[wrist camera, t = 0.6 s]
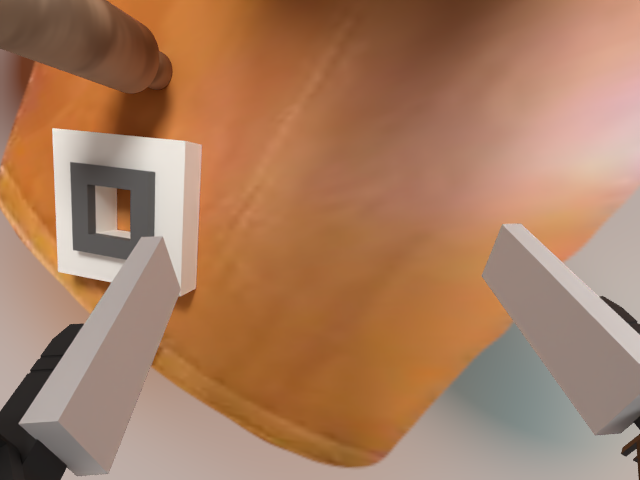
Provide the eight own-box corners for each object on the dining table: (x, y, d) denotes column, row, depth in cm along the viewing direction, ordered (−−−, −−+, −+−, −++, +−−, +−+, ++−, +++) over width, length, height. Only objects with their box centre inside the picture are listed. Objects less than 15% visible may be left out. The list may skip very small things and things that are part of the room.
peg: (130, 36, 36) (-62, -74, 21) (184, 38, 35) (22, -79, 19) (130, 101, 37) (-51, 41, 22) (182, 104, 36) (28, 43, 21)
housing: (77, 132, 39) (43, 126, 36) (201, 144, 36) (179, 139, 32) (80, 266, 43) (49, 273, 39) (196, 288, 39) (174, 299, 35)
